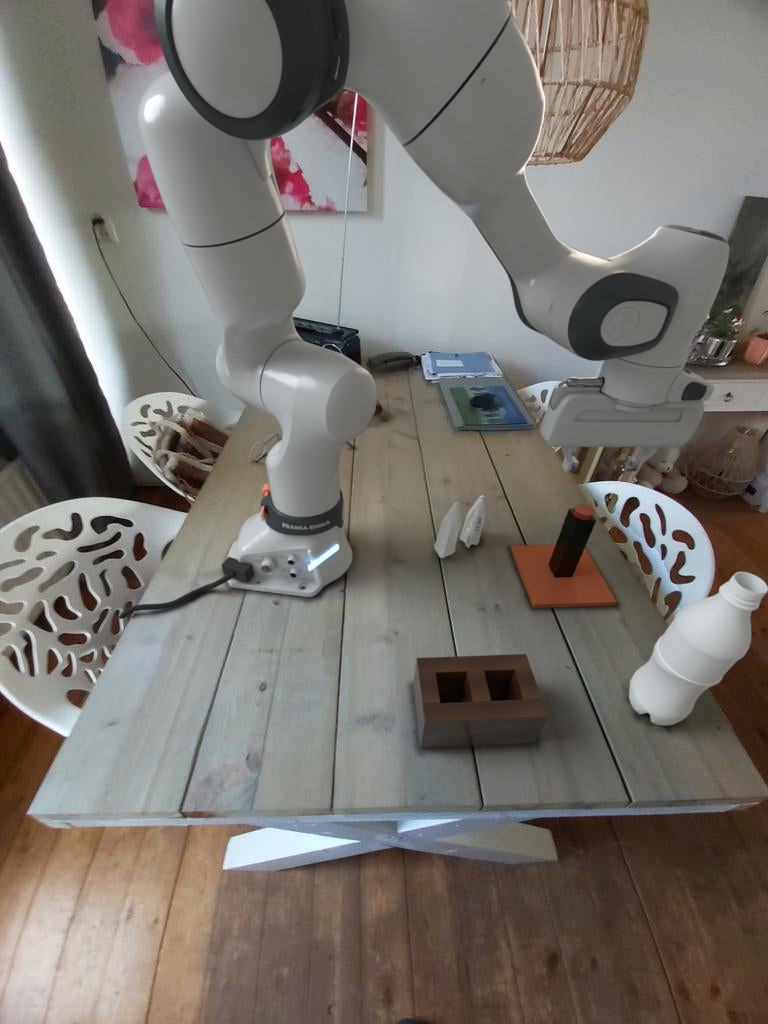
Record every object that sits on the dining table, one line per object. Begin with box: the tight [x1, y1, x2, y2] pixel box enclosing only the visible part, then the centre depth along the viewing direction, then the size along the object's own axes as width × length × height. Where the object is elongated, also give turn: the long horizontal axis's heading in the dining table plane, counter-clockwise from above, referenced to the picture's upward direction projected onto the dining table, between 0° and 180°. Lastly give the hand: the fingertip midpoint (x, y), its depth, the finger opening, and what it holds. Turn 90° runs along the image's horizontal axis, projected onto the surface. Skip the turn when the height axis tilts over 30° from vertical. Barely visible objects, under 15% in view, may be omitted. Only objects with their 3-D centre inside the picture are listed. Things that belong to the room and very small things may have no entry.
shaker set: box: [433, 495, 487, 559], centre depth 80 cm, size 12×4×11 cm, turn 126°
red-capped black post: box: [549, 503, 597, 578], centre depth 74 cm, size 3×3×14 cm
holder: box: [412, 653, 549, 749], centre depth 57 cm, size 8×15×7 cm, turn 93°
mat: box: [509, 544, 618, 609], centre depth 78 cm, size 14×14×1 cm
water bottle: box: [628, 571, 768, 726], centre depth 52 cm, size 7×7×25 cm
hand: (599, 469), depth 64 cm, fingers open, 8 cm apart
